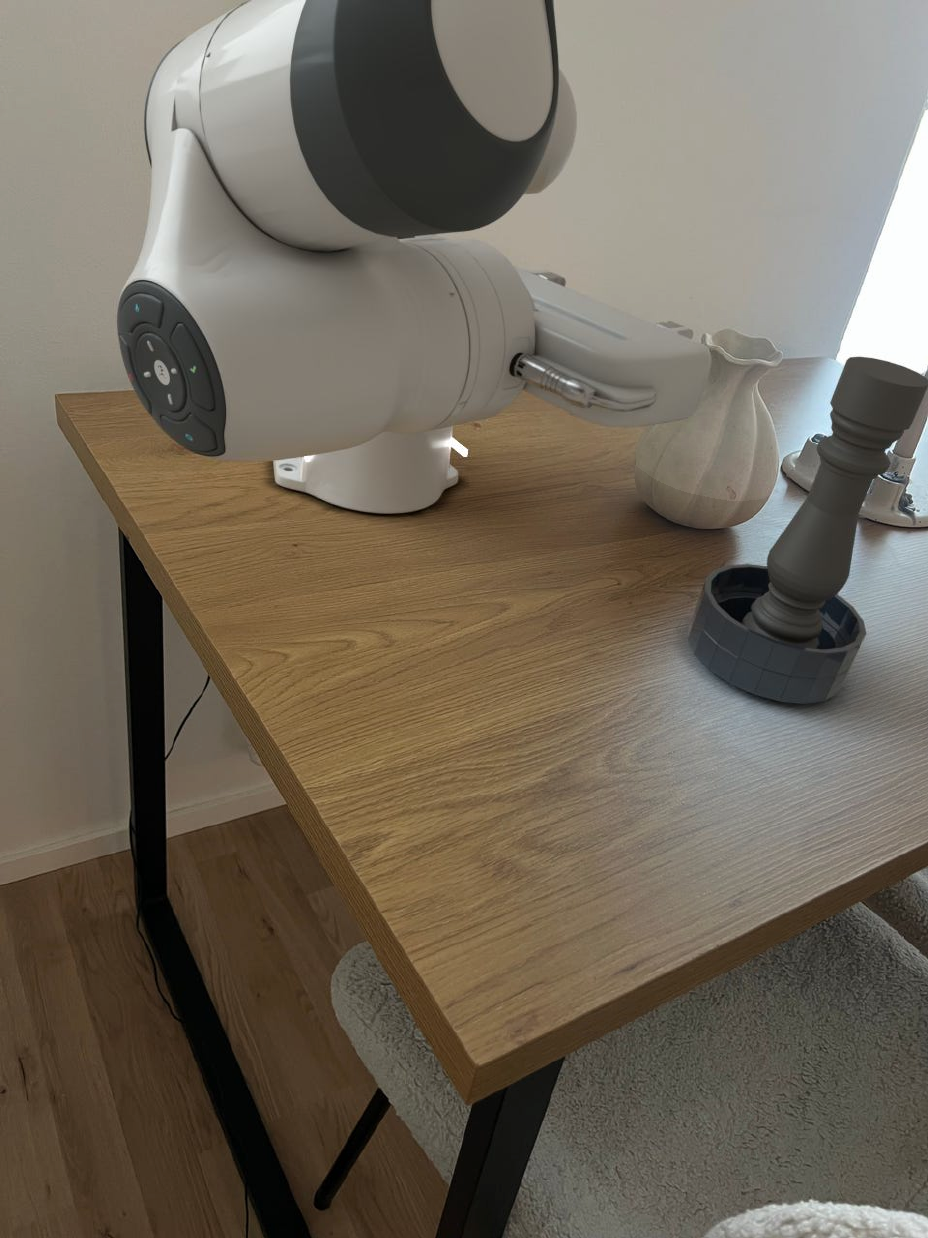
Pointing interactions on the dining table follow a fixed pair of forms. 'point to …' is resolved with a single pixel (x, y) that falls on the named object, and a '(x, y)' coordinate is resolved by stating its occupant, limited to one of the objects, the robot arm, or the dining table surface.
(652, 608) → the dining table surface
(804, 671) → the bowl
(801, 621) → the candle holder
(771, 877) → the dining table surface
